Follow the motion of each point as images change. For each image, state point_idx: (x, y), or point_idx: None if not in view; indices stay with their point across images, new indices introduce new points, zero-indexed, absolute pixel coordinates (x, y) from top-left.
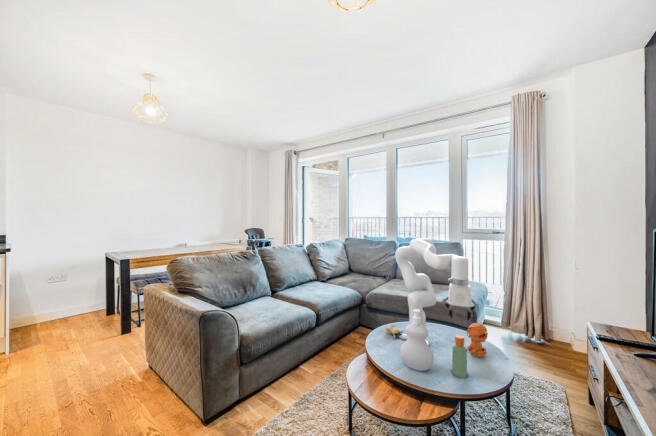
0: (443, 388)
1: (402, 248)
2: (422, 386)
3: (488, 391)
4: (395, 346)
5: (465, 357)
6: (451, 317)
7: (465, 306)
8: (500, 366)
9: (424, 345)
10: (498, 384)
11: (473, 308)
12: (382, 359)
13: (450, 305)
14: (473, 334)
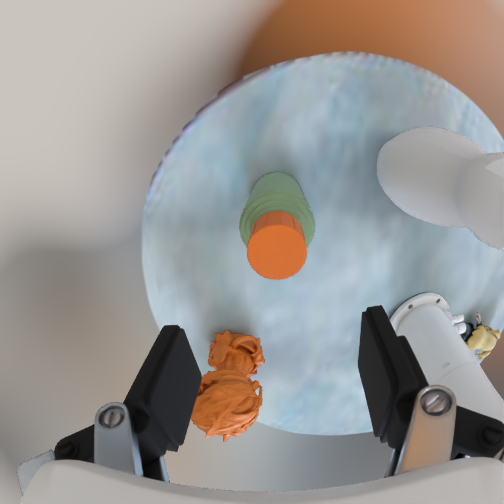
0: (315, 74)
1: None
2: (377, 58)
3: (180, 139)
4: (476, 269)
5: (248, 199)
6: (374, 307)
7: (114, 478)
8: (168, 308)
9: (444, 159)
10: (158, 200)
11: (65, 442)
12: None
13: (443, 453)
14: (234, 386)
